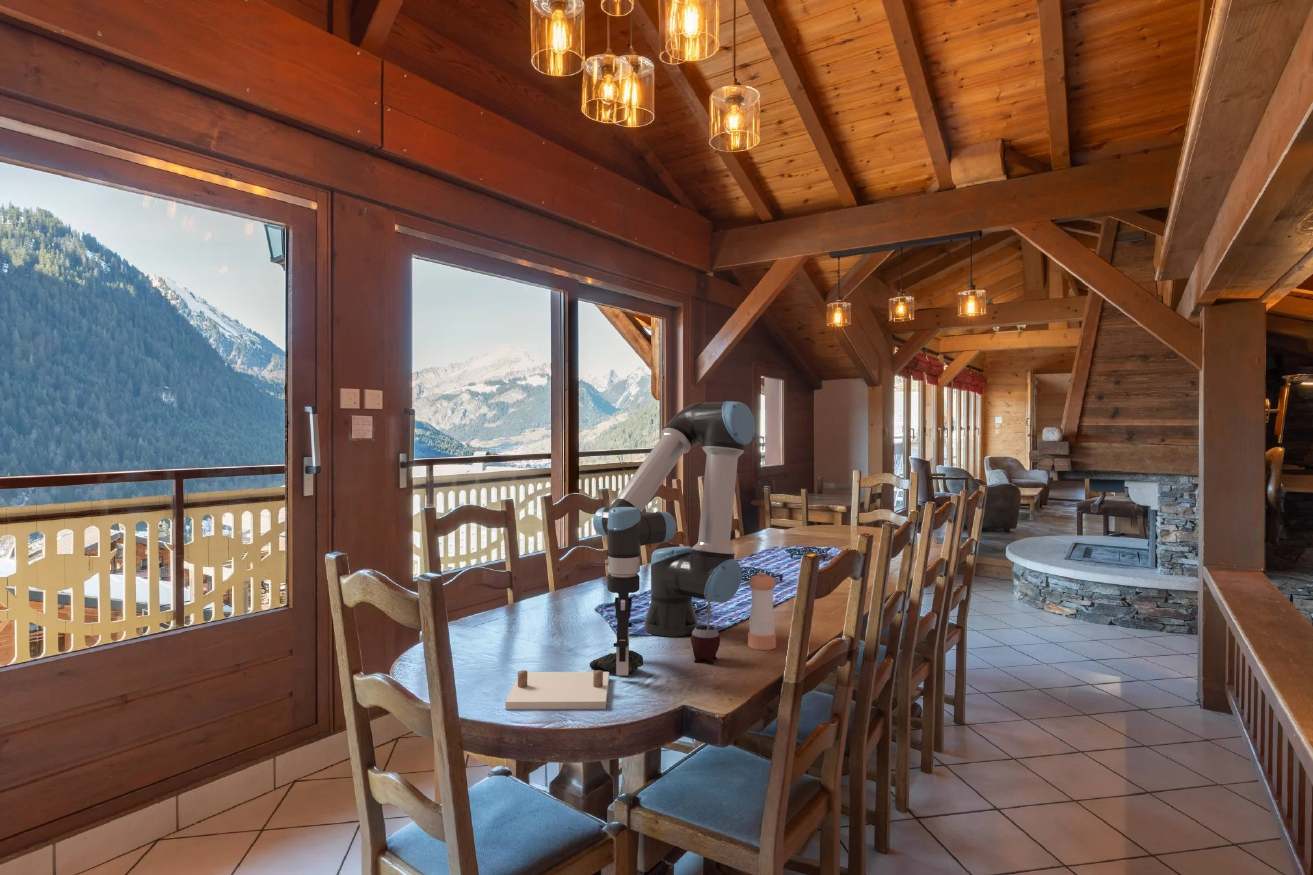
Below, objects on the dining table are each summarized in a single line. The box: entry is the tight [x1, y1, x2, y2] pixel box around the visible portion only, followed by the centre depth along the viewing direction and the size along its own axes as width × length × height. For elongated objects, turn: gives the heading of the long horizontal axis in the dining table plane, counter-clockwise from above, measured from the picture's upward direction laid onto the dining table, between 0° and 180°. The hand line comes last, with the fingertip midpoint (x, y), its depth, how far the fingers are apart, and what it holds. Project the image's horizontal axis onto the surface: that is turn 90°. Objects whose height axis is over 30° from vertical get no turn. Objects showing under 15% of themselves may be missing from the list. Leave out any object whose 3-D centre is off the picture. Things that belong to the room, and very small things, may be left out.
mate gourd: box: [690, 594, 721, 666], centre depth 167 cm, size 8×8×15 cm
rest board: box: [504, 669, 610, 710], centre depth 145 cm, size 20×17×4 cm
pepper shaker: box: [747, 572, 777, 651], centre depth 178 cm, size 7×7×19 cm
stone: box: [589, 649, 644, 677], centre depth 159 cm, size 7×13×5 cm, turn 68°
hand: (622, 664), depth 159 cm, fingers open, 13 cm apart
